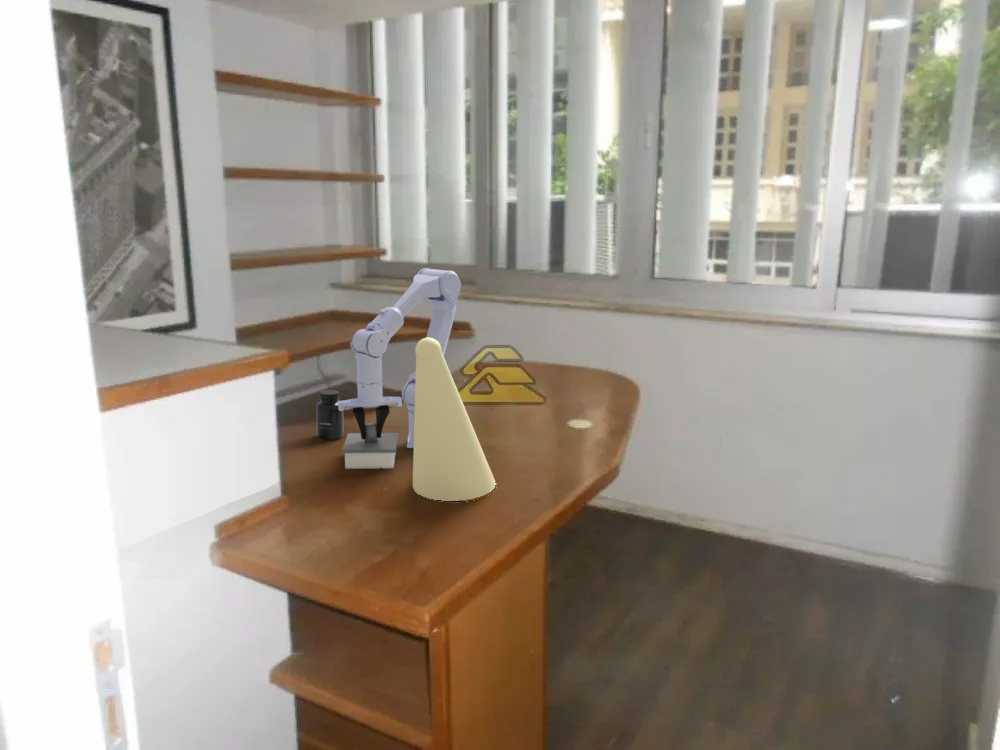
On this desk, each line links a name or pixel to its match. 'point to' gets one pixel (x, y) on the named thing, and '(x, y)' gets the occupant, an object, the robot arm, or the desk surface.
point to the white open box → (369, 460)
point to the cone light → (444, 434)
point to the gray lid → (370, 441)
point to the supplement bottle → (329, 416)
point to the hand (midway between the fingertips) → (370, 437)
